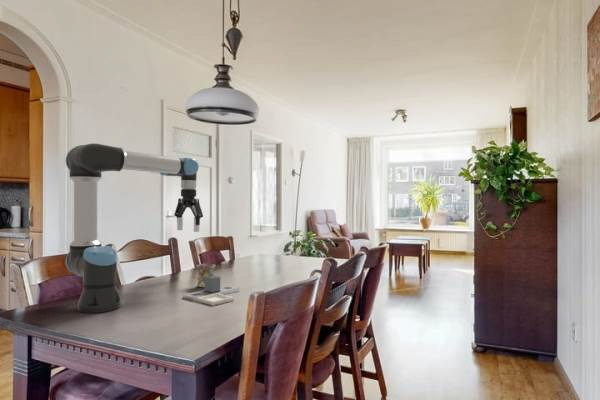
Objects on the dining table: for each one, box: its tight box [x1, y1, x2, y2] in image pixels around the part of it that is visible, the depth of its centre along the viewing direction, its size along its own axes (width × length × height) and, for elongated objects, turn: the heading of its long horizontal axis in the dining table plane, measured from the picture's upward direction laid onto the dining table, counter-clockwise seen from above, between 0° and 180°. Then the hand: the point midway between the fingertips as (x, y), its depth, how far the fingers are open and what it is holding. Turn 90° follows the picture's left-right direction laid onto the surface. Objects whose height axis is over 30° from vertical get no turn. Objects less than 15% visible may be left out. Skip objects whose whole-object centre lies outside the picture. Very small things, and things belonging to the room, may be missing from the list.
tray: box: [195, 293, 235, 307], centre depth 170 cm, size 11×11×2 cm
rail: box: [182, 285, 241, 302], centre depth 182 cm, size 26×8×2 cm, turn 141°
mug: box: [190, 263, 217, 288], centre depth 199 cm, size 12×9×11 cm
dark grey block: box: [203, 275, 221, 293], centre depth 182 cm, size 5×5×8 cm
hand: (187, 231), depth 202 cm, fingers open, 13 cm apart
